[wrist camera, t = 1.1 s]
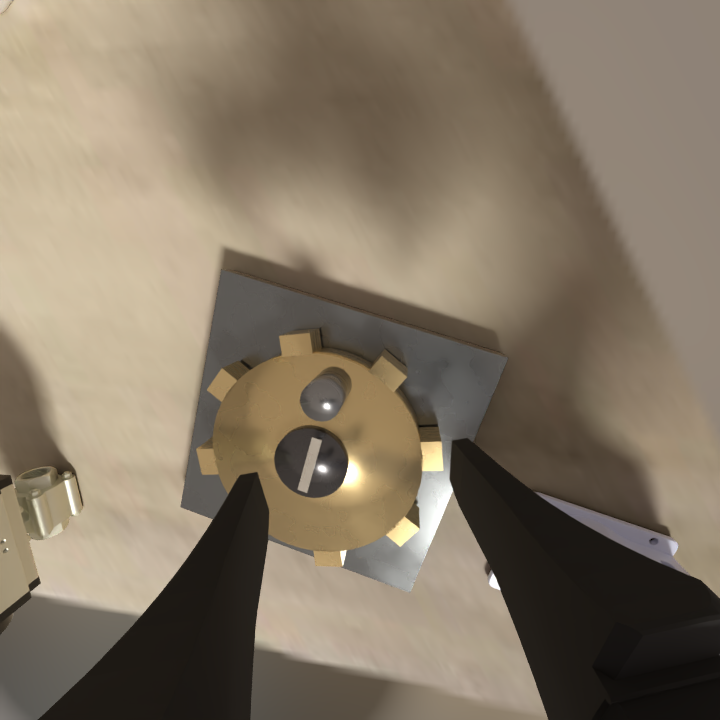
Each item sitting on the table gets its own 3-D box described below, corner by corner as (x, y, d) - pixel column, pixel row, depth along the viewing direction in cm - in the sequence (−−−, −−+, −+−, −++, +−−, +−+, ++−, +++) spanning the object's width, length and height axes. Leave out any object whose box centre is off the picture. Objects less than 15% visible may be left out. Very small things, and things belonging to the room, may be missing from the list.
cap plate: (501, 352, 21) (508, 358, 19) (410, 575, 25) (410, 592, 24) (233, 270, 22) (221, 269, 21) (193, 495, 27) (180, 507, 25)
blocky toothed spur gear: (394, 569, 23) (390, 643, 19) (202, 498, 25) (150, 550, 20) (470, 376, 20) (489, 406, 15) (239, 303, 21) (187, 309, 16)
